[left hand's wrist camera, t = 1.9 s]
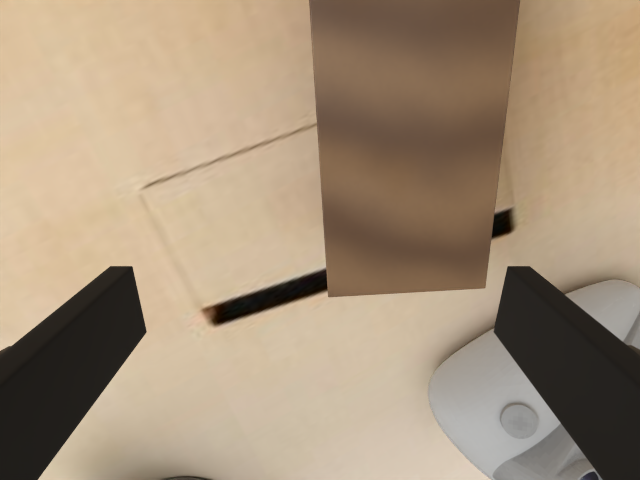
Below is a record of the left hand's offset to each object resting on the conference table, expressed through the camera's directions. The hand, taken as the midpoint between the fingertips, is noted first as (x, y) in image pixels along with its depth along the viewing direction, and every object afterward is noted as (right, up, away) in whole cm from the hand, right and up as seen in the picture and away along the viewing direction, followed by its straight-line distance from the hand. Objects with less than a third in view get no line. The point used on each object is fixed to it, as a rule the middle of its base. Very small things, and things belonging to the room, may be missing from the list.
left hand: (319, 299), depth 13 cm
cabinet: (+5, +12, +17) cm, 22 cm away
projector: (+23, -10, +27) cm, 37 cm away
